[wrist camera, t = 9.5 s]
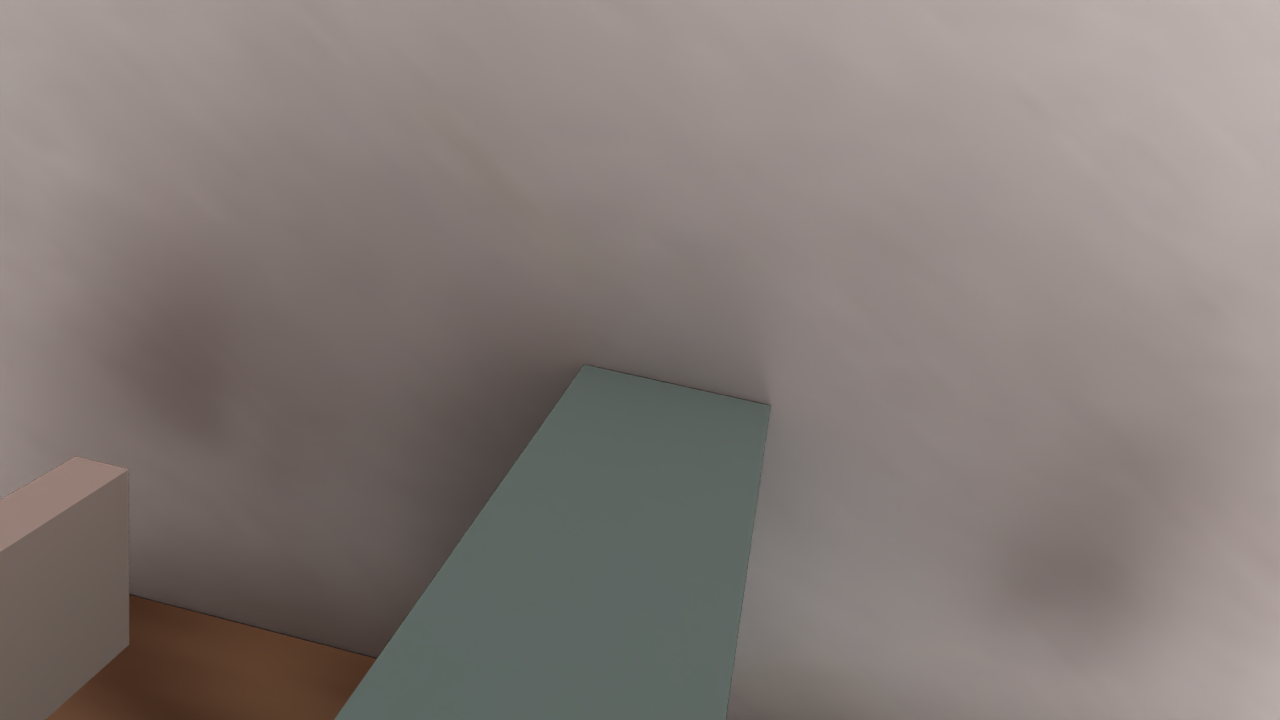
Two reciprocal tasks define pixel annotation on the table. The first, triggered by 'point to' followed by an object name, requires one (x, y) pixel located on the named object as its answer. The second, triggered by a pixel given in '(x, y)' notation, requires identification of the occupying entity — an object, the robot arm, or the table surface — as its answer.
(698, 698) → the teal notched bridge
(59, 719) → the notched wooden saddle block
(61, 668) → the robot arm
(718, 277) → the table surface
